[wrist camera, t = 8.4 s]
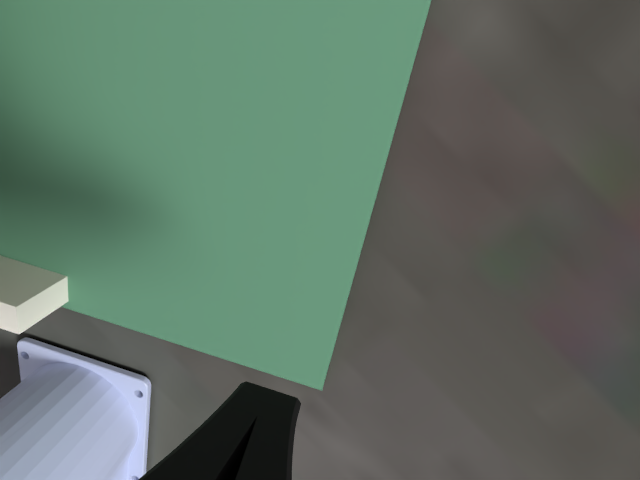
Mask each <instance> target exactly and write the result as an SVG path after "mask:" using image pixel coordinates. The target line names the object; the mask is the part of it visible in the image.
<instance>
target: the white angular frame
mask: <svg viewBox="0 0 640 480" xmlns="http://www.w3.org/2000/svg"><path fill="white" fill-rule="evenodd" d="M67 302H68V279H67V276H65V275H62V274H58V273H55V272H52V271H49V270H46V269H42V268H39V267H36V266H33V265H30V264H26V263H23V262H20V261H17V260H14V259H10V258H7V257H4V256H1V255H0V328H1V329H4V330H7V331H10V332H13V333H16V334H21V333H22V332H24V331H25V330H27V329H28V328H29V327H31V326H32V325H34V324H35V323H37V322H38V321H40V320H41V319H43V318H44V317H46V316H47V315H49V314H50V313H52V312H53V311H55V310H56V309H58V308H59V307H61V306H62V305H64V304H65V303H67Z"/></svg>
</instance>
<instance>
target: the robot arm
mask: <svg viewBox="0 0 640 480" xmlns="http://www.w3.org/2000/svg"><path fill="white" fill-rule="evenodd" d="M17 350H18V359H19V368H20V377H21V383H19V384H18V385H17V386H16V387H14V388H13V389H12V390H11V391H9V392H8V393H7V394H6V395H4V396H3V397H2V398H1V399H0V480H292V454H293V443H294V433H295V426H296V421H297V417H298V413H299V410H300V406H301V403H300V401H299V400H298V398H295V397H292V396H289V395H286V394H283V393H280V392H277V391H274V390H271V389H268V388H265V387H262V386H259V385H256V384H252V383H249V382H244V383H241V384H240V385H239V387H238V388H237V389H236V390H235V391H234V392H233V393H232V394H231V396H230V397H229V398H228V399H227V400H226V401H225V402H224V403H223V404H222V405H221V406H220V407H219V408H218V409H217V410H216V411H215V412H214V413H213V414H212V415H211V416H210V417H209V418H208V419H207V420H206V421H205V422H204V423H203V424H202V425H201V426H200V427H199V428H198V429H196V430H195V431H194V432H193V433H192V434H191V435H190V436H189V437H188V438H187V439H185V440H184V441H183V442H182V443H181V444H180V445H179V446H178V447H177V448H176V449H174V450H173V451H172V452H171V453H170V454H169V455H168V456H166V457H165V458H164V459H163V460H161V461H160V462H159V463H158V464H157V465H155V466H154V467H153V468H152V469H151V470H149V471H148V472H147V473H146V465H147V448H148V430H149V413H150V396H151V382H150V381H149V379H148V378H147V377H145V376H142V375H139V374H136V373H133V372H130V371H127V370H124V369H121V368H118V367H115V366H112V365H109V364H106V363H103V362H100V361H97V360H94V359H91V358H88V357H85V356H82V355H79V354H76V353H73V352H70V351H67V350H64V349H61V348H58V347H55V346H52V345H49V344H46V343H43V342H40V341H37V340H34V339H31V338H27V337H25V338H23V339H21V340H20V341H18V343H17Z"/></svg>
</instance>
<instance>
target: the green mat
mask: <svg viewBox="0 0 640 480" xmlns="http://www.w3.org/2000/svg"><path fill="white" fill-rule="evenodd" d="M430 3H431V0H0V255H1V256H4V257H7V258H10V259H14V260H17V261H20V262H23V263H26V264H30V265H33V266H36V267H39V268H42V269H46V270H49V271H52V272H55V273H58V274H62V275H65V276H67V279H68V302H67V303H65V304H64V305H62V306H61V307H64V308H67V309H70V310H73V311H76V312H79V313H82V314H85V315H89V316H92V317H95V318H98V319H101V320H104V321H107V322H110V323H113V324H117V325H120V326H123V327H126V328H129V329H132V330H135V331H138V332H141V333H145V334H148V335H151V336H154V337H157V338H160V339H163V340H166V341H169V342H173V343H176V344H179V345H182V346H185V347H188V348H191V349H194V350H197V351H201V352H204V353H207V354H210V355H213V356H216V357H219V358H222V359H225V360H229V361H232V362H235V363H238V364H241V365H244V366H247V367H250V368H253V369H256V370H260V371H263V372H266V373H269V374H272V375H275V376H278V377H281V378H284V379H288V380H291V381H294V382H297V383H300V384H303V385H306V386H309V387H312V388H316V389H319V390H322V388H323V385H324V381H325V378H326V374H327V371H328V367H329V364H330V360H331V356H332V353H333V349H334V346H335V342H336V339H337V335H338V331H339V328H340V324H341V321H342V317H343V314H344V310H345V306H346V303H347V299H348V296H349V292H350V289H351V285H352V281H353V278H354V274H355V271H356V267H357V264H358V260H359V256H360V253H361V249H362V246H363V242H364V239H365V235H366V232H367V228H368V224H369V221H370V217H371V214H372V210H373V207H374V203H375V199H376V196H377V192H378V189H379V185H380V182H381V178H382V174H383V171H384V167H385V164H386V160H387V157H388V153H389V149H390V146H391V142H392V139H393V135H394V132H395V128H396V124H397V121H398V117H399V114H400V110H401V107H402V103H403V99H404V96H405V92H406V89H407V85H408V82H409V78H410V75H411V71H412V67H413V64H414V60H415V57H416V53H417V50H418V46H419V42H420V39H421V35H422V32H423V28H424V25H425V21H426V17H427V14H428V10H429V7H430Z"/></svg>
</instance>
